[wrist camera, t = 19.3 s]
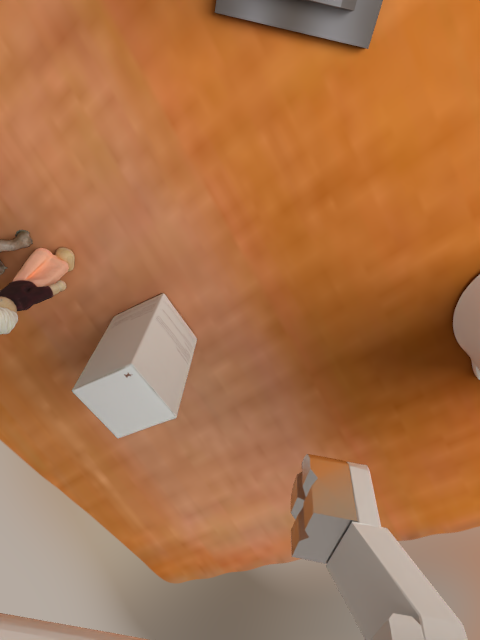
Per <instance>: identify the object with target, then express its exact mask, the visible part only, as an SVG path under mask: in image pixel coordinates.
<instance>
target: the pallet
mask: <svg viewBox="0 0 480 640" xmlns="http://www.w3.org/2000/svg"><path fill="white" fill-rule="evenodd" d="M382 1H383V0H216V8H215V13H219V14H223V15H227V16H231V17H236V18H240V19H244V20H248V21H253V22H257V23H261V24H265V25H270V26H274V27H278V28H282V29H287V30H291V31H295V32H299V33H303V34H308V35H312V36H316V37H320V38H325V39H329V40H333V41H337V42H342V43H346V44H350V45H354V46H359V47H363V48H367V49H368V47H369V44H370V41H371V37H372V34H373V31H374V28H375V24H376V21H377V18H378V15H379V11H380V8H381V5H382Z"/></svg>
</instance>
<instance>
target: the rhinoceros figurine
mask: <svg viewBox="0 0 480 640" xmlns="http://www.w3.org/2000/svg"><path fill="white" fill-rule="evenodd" d="M15 236H16V238H14V239H13V240H1V239H0V252H1V251H14V250H17V249H20V248H26V247H29V245H30V243H31V244H32V239H31V238H30V235H29V232H28V231H26V230H19V231H17V232H16V235H15ZM4 269H7V267H5V266H4V264H3V263H2V262H1V261H0V274H3V273H4V271H5V270H4Z"/></svg>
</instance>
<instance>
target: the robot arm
mask: <svg viewBox="0 0 480 640" xmlns="http://www.w3.org/2000/svg"><path fill="white" fill-rule="evenodd" d="M453 330H454V334H455V337H456V340H457V342H458V343H459V345H460V346H461V348H462V349H463V350H464V351H465V352H466V353H467V354H468V355H469V357H470V358H471V361H472V367H473V371H474V374H475V375H476V377H477V378H478V379H479V380H480V274H479V275H478V276H477V277H476V278H475V279H474V280H473V281H472V282H471V283H470V284H469V286H468V287H467V288H466V289H465V291H464V292H463V294H462V295H461V297H460V299H459V301H458V303H457V305H456V308H455V312H454V317H453ZM291 514H292V515H293V517H294V518H295V522H294V524H293V527H292V529H291V545H292V557H296V558H301V559H305V560H310V561H315V562H319V563H324V564H327V565H326V567H327V569H328V571H329V573H330V575H331V577H332V578H333V580H334V582H335V584H336V586H337V588H338V590H339V592H340V594H341V596H342V597H343V599H344V601H345V603H346V605H347V607H348V609H349V611H350V612H351V614H352V616H353V618H354V620H355V622H356V623H357V626H358V627H359V629H360V631H361V633H362V635H363V637H364V638H365V640H467V636H466V633H465V630H464V627H463V624H462V623H461V621H460V620H459V619H458V618H457V616H456V615H455V614H454V613H453V611H452V610H451V609H450V608H449V606H448V605H447V604H446V603H445V601H444V600H443V599H442V598H441V596H440V595H439V594H438V593H437V591H436V590H435V588H434V587H433V586H432V585H431V583H430V582H429V581H428V580H427V578H426V577H425V576H424V574H423V573H422V572H421V571H420V569H419V568H418V567H417V566H416V564H415V563H414V562H413V561H412V559H411V558H410V557H409V555H408V554H407V553H406V552H405V550H404V549H403V548H402V546H401V545H400V544H399V543H398V541H397V540H396V539H395V538H394V536H393V535H392V534H391V532H390V531H389V530H388V529H387V528H384V527H381V524H380V519H379V514H378V509H377V504H376V499H375V495H374V490H373V485H372V480H371V475H370V470H369V468H368V467H367V465H362V464H357V463H352V462H346V461H343V460H337V459H332V458H327V457H321V456H316V455H310V454H307V455H306V456H305V457H304V459H303V462H302V472H301V473H299V474H297V476H296V478H295V481H294V484H293V489H292V494H291ZM0 640H148V639H143V638H137V637H132V636H126V635H120V634H115V633H109V632H103V631H98V630H92V629H87V628H81V627H75V626H70V625H64V624H59V623H53V622H47V621H42V620H36V619H31V618H25V617H20V616H14V615H8V614H3V613H0Z"/></svg>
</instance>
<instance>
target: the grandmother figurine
mask: <svg viewBox="0 0 480 640" xmlns="http://www.w3.org/2000/svg"><path fill="white" fill-rule="evenodd" d="M73 269H74V254H73V252H72V251H71V250H70V249H68V248H59V249H57V251H56V254H55V255H53V254H52V253H51V252H50V251H49V250H47V249H44V248H38V249H36V250H35V251H34V252H33V253H32V254H31V255H30V257H29V258H28V259H27V261H26V262H25V263H24V265H23V266H22V268H21V269H20V271H19V272H18V273H17V275H16V276H15V278H14V279H13V281H12V282H11V283H9V285H8V286H6V287H5V288H4V289H2V290H0V334H9V333H10V332H11V330H12V329H13V328H14V327H15V325H16V323H17V321H18V315H17V311H22V310H27V309H29V308H30V307H31V306H32V305H33V304H37V303H40V302H42V301H44V300H46V299H49V298H51V297H53V296H54V295H56V294H58V293H59V292H60V291H64V290H65V289H66V283H65V282H64V281H58V280H59V279H60V278H61V277H62V276H63V275H64V274H65V273H67V272H68V271H72V270H73ZM54 283H55V284H54Z"/></svg>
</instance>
